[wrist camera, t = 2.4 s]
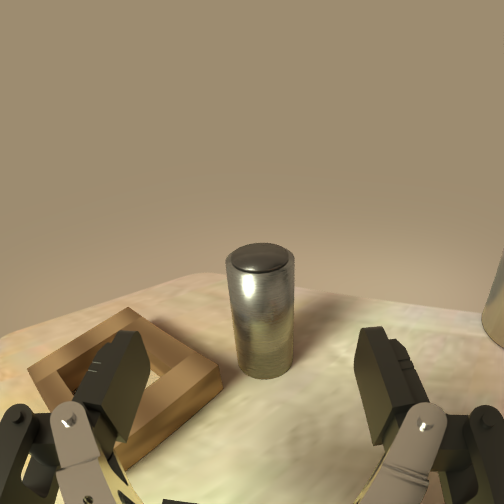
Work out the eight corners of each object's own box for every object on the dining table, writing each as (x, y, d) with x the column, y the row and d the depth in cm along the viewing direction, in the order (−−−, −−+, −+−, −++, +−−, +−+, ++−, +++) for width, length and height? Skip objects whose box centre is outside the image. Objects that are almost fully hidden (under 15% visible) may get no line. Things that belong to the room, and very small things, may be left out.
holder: (136, 329, 31) (128, 306, 29) (223, 388, 24) (218, 364, 22) (41, 390, 22) (26, 368, 21) (107, 484, 15) (88, 467, 14)
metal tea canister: (259, 334, 29) (253, 235, 25) (302, 353, 27) (306, 249, 22) (226, 363, 26) (210, 260, 21) (271, 388, 23) (268, 280, 19)
